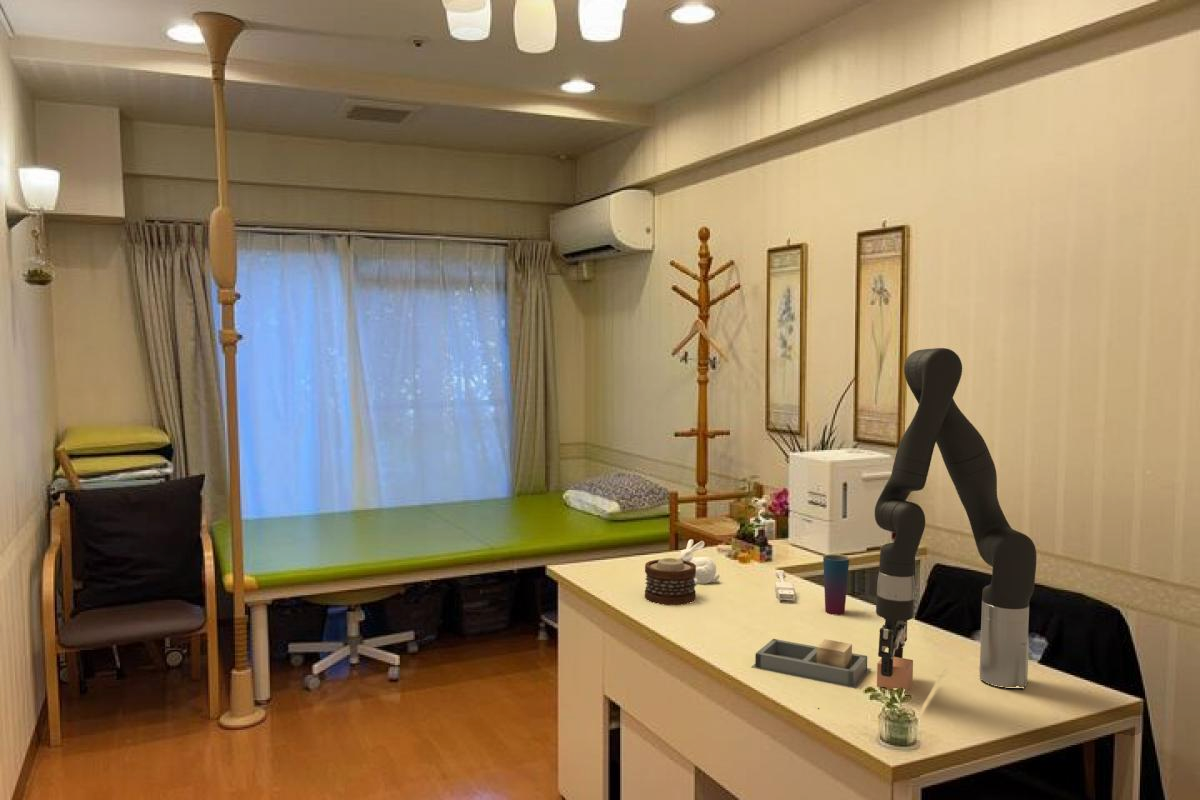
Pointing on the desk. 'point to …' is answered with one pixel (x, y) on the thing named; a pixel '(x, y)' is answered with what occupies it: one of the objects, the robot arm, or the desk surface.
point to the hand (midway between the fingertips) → (891, 669)
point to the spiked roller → (670, 581)
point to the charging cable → (784, 587)
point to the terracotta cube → (897, 674)
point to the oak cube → (835, 654)
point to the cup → (835, 582)
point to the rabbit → (700, 564)
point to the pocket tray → (808, 664)
